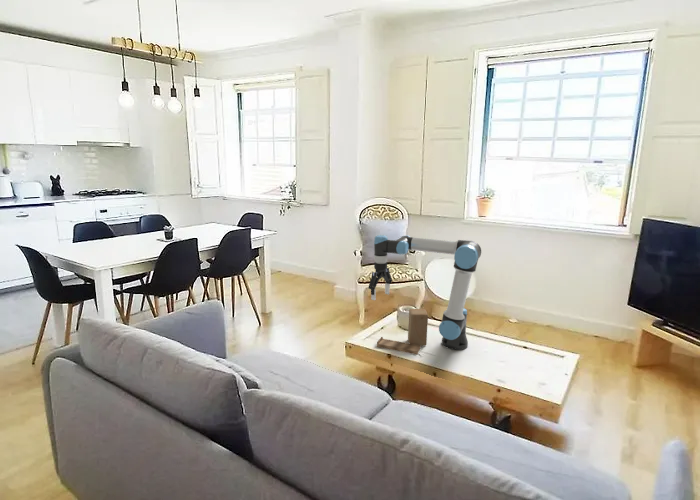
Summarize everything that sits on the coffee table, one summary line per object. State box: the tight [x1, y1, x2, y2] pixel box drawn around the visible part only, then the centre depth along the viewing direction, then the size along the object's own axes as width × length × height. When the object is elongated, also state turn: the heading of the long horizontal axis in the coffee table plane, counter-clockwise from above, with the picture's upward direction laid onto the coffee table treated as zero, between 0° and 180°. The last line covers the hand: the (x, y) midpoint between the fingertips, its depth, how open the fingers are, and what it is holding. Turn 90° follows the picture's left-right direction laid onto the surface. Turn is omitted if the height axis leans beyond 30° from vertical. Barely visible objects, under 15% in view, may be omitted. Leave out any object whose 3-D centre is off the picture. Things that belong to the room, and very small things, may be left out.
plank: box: [376, 336, 422, 355], centre depth 257 cm, size 24×8×3 cm, turn 67°
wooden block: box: [407, 308, 429, 347], centre depth 262 cm, size 10×10×20 cm
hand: (380, 296), depth 261 cm, fingers open, 13 cm apart
